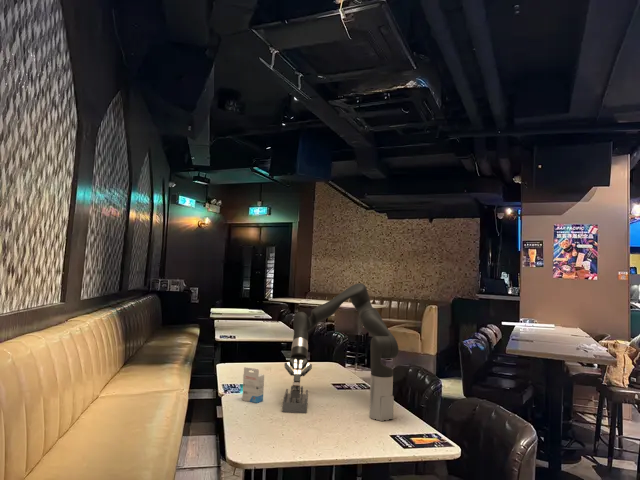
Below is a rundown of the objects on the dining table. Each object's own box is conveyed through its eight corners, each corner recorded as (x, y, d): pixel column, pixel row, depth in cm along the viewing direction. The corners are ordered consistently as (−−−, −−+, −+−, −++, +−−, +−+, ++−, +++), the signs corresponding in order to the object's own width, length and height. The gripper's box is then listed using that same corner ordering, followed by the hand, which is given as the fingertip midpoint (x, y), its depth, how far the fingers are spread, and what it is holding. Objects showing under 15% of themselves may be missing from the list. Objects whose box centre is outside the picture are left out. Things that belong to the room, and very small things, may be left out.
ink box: (263, 401, 209) (265, 367, 210) (257, 403, 204) (259, 369, 206) (248, 398, 213) (250, 365, 214) (241, 400, 208) (243, 366, 210)
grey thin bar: (293, 386, 207) (292, 382, 198) (300, 387, 207) (299, 382, 198) (293, 389, 207) (292, 385, 197) (300, 390, 207) (299, 385, 197)
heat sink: (285, 402, 208) (286, 382, 209) (307, 403, 208) (308, 383, 209) (282, 412, 193) (283, 390, 194) (306, 413, 193) (307, 391, 194)
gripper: (313, 355, 216) (311, 388, 203) (285, 354, 216) (281, 387, 203) (314, 345, 211) (311, 379, 198) (285, 344, 212) (281, 377, 198)
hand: (296, 383), depth 201 cm, fingers closed
